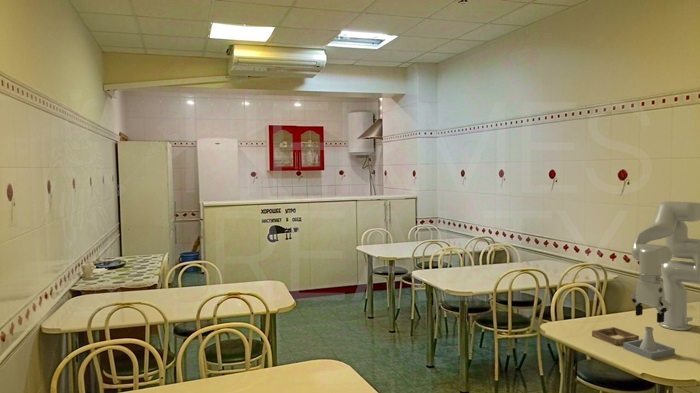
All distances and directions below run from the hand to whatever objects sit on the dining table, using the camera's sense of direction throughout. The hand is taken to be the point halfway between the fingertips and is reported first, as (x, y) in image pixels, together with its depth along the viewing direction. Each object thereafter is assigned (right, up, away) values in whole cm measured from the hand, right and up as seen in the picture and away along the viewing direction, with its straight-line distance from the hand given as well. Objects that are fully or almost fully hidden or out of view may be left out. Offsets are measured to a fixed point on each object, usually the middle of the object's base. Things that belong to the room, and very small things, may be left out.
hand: (649, 318), depth 204 cm
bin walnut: (-6, -13, +16) cm, 21 cm away
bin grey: (0, -14, 0) cm, 14 cm away
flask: (0, -14, 0) cm, 14 cm away
